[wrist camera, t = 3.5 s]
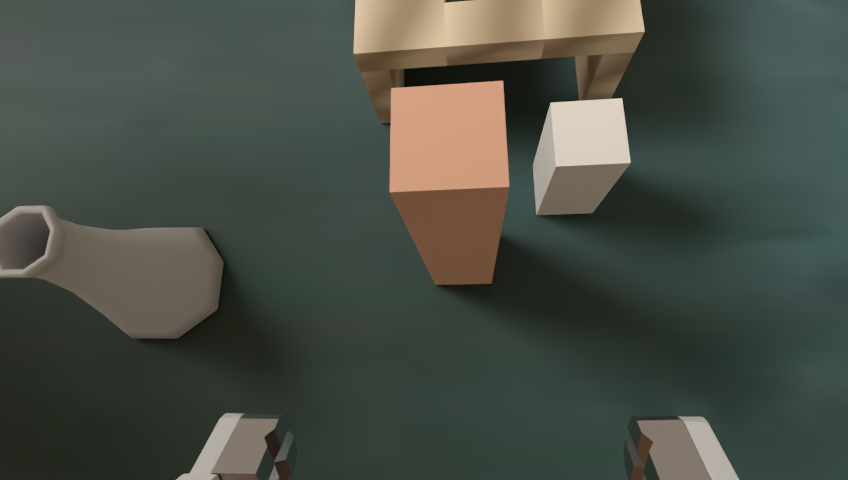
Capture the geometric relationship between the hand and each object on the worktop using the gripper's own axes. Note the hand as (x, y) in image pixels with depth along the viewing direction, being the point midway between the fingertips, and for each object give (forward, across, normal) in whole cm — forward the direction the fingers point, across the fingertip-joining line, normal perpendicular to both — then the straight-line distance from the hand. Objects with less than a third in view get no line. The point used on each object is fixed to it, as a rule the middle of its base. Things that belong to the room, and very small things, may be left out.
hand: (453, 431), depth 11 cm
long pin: (+16, 0, +5) cm, 17 cm away
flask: (+15, +18, +6) cm, 24 cm away
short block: (+19, -6, +2) cm, 20 cm away
